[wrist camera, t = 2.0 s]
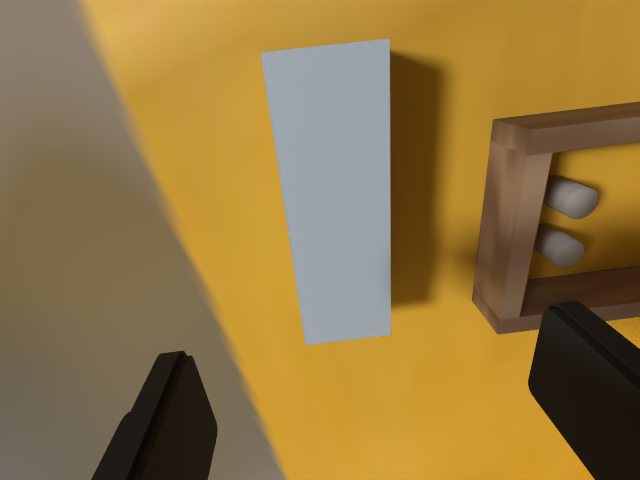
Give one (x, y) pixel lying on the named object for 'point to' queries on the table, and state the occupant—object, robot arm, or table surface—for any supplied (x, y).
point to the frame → (524, 233)
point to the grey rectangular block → (335, 182)
